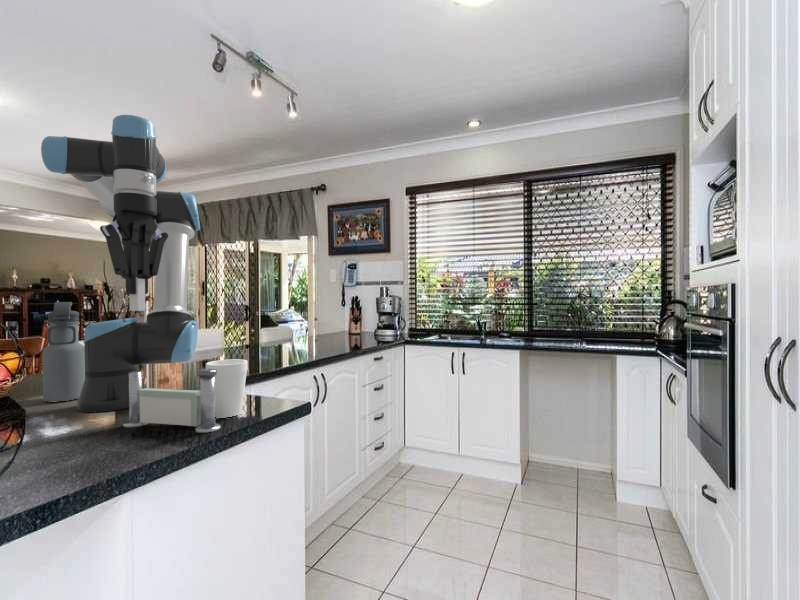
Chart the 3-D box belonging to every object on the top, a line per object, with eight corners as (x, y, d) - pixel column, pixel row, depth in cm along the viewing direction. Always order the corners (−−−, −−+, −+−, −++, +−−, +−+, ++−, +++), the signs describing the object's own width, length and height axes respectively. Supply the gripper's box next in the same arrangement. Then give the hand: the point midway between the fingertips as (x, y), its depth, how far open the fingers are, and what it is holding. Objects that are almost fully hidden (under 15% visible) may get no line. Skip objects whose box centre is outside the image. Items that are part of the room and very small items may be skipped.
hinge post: (117, 427, 94) (116, 373, 94) (136, 420, 99) (135, 369, 99) (136, 428, 93) (135, 374, 93) (154, 421, 98) (153, 370, 98)
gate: (139, 422, 95) (138, 390, 95) (146, 420, 97) (145, 388, 97) (195, 426, 92) (195, 392, 92) (201, 423, 94) (201, 390, 93)
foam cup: (233, 421, 98) (232, 365, 98) (198, 419, 100) (197, 364, 99) (255, 410, 107) (254, 359, 107) (222, 408, 109) (222, 358, 109)
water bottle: (84, 400, 120) (82, 302, 119) (40, 405, 114) (38, 302, 114) (87, 393, 128) (86, 301, 128) (46, 397, 123) (44, 302, 123)
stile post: (190, 432, 90) (189, 372, 90) (205, 425, 95) (205, 368, 95) (210, 434, 89) (209, 372, 89) (225, 426, 94) (224, 368, 94)
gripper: (114, 185, 78) (116, 312, 79) (176, 199, 90) (178, 309, 90) (89, 190, 81) (92, 311, 82) (153, 203, 93) (155, 309, 94)
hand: (137, 310), depth 86 cm, fingers closed
